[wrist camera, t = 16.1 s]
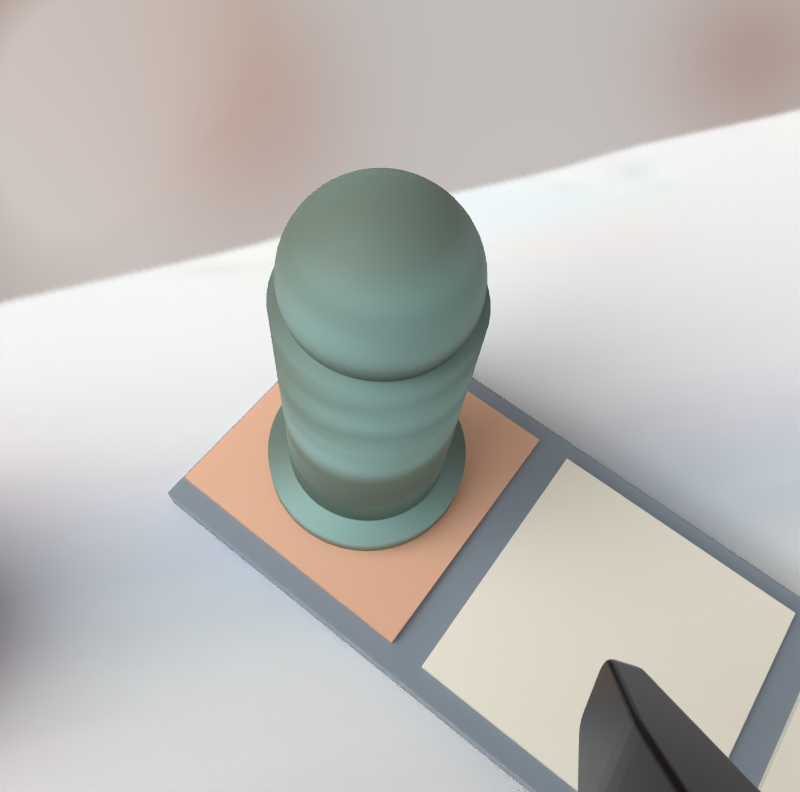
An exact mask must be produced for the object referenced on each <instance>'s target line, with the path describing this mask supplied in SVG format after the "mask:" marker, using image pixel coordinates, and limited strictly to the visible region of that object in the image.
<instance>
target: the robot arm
mask: <svg viewBox="0 0 800 792" xmlns="http://www.w3.org/2000/svg"><path fill="white" fill-rule="evenodd" d="M578 792H761V791H760V790H759V789H758V788H757V787H756V786H755V785H754V784H753V783H752V782H751V781H750V780H749V779H748V778H747V777H746V776H745V775H744V774H743V773H742V771H741V770H740V769H739V768H738V767H737V766H736V765H735V764H734V763H733V762H732V761H731V760H730V759H729V758H728V757H727V756H726V755H725V754H724V753H723V752H722V751H721V750H720V749H719V748H718V747H717V746H716V745H715V744H714V743H713V741H712V740H711V739H710V738H709V737H708V736H707V735H706V734H705V733H704V732H703V731H702V730H701V729H700V728H699V727H698V726H697V725H696V724H695V723H694V722H693V721H692V720H691V719H690V718H689V717H688V716H687V715H686V714H685V712H684V711H683V710H682V709H681V708H680V707H679V706H678V705H677V704H676V703H675V702H674V701H673V700H672V699H671V698H670V697H669V696H668V695H667V694H666V693H665V692H664V691H663V690H662V689H661V688H660V687H659V686H658V685H657V683H656V682H655V681H654V680H653V679H652V678H651V677H650V676H649V675H648V674H647V673H646V672H645V671H644V670H643V669H642V668H640V667H637V666H634V665H631V664H628V663H624V662H621V661H618V660H614V659H609V660H607V661H605V662H604V664H603V665H602V667H601V669H600V671H599V674H598V676H597V679H596V681H595V684H594V686H593V689H592V692H591V694H590V697H589V699H588V702H587V704H586V707H585V709H584V712H583V715H582V719H581V723H580V729H579V754H578Z"/></svg>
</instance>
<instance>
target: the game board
mask: <svg viewBox="0 0 800 792" xmlns="http://www.w3.org/2000/svg"><path fill="white" fill-rule="evenodd" d="M281 405H282V402H281V395H280V389H279V383H278V382H277V383H276V384H275V385H274V386H273V387H272V388H271V389H270V390H269V391H268V392H267V393H266V394H265V395H264V396H263V397H262V398H261V399H260V400H259V401H258V402H257V403H256V404H255V405H254V406H253V407H252V408H251V409H250V410H249V411H248V412H247V413H246V414H245V415H244V416H243V417H242V418H241V419H240V420H239V421H238V422H237V423H236V424H235V425H234V426H233V427H232V428H231V429H230V430H229V431H228V432H227V433H226V434H225V435H224V436H223V437H222V438H221V439H220V441H219V442H218V443H217V444H216V445H215V446H214V447H213V448H212V449H211V450H210V451H209V452H208V453H207V454H206V455H205V456H204V457H203V458H202V459H201V460H200V461H199V462H198V463H197V464H196V465H195V466H194V467H193V468H192V469H191V470H190V471H189V472H188V473H187V474H186V475H185V476H184V477H183V478H182V479H181V480H180V481H179V482H178V483H177V484H176V485H175V486H174V487H173V488H172V489H171V490H170V491H169V492H168V493H169V495H170V497H171V498H172V500H173V502H174V503H175V504H176V505H178V506H179V507H180V508H181V509H183V510H184V511H185V512H186V513H188V514H189V515H190V516H191V517H192V518H194V519H195V520H196V521H197V522H199V523H200V524H201V525H202V526H204V527H205V528H206V529H207V530H208V531H210V532H211V533H212V534H213V535H215V536H216V537H217V538H218V539H220V540H221V541H222V542H223V543H224V544H226V545H227V546H228V547H229V548H231V549H232V550H233V551H234V552H236V553H237V554H238V555H239V556H240V557H242V558H243V559H244V560H245V561H247V562H248V563H249V564H250V565H252V566H253V567H254V568H255V569H256V570H258V571H259V572H260V573H261V574H263V575H264V576H265V577H266V578H268V579H269V580H270V581H271V582H272V583H274V584H275V585H276V586H277V587H279V588H280V589H281V590H282V591H284V592H285V593H286V594H287V595H288V596H290V597H291V598H292V599H293V600H295V601H296V602H297V603H298V604H300V605H301V606H302V607H303V608H304V609H306V610H307V611H308V612H309V613H311V614H312V615H313V616H314V617H316V618H317V619H318V620H319V621H320V622H322V623H323V624H324V625H325V626H327V627H328V628H329V629H330V630H332V631H333V632H334V633H335V634H336V635H338V636H339V637H340V638H341V639H343V640H344V641H345V642H346V643H348V644H349V645H350V646H351V647H352V648H354V649H355V650H356V651H357V652H359V653H360V654H361V655H362V656H364V657H365V658H366V659H367V660H368V661H370V662H371V663H372V664H373V665H375V666H376V667H377V668H378V669H380V670H381V671H382V672H383V673H384V674H386V675H387V676H388V677H389V678H391V679H392V680H393V681H394V682H396V683H397V684H398V685H399V686H400V687H402V688H403V689H404V690H405V691H407V692H408V693H409V694H410V695H412V696H413V697H414V698H415V699H416V700H418V701H419V702H420V703H421V704H423V705H424V706H425V707H426V708H428V709H429V710H430V711H431V712H432V713H434V714H435V715H436V716H437V717H439V718H440V719H441V720H442V721H444V722H445V723H446V724H447V725H448V726H450V727H451V728H452V729H453V730H455V731H456V732H457V733H458V734H460V735H461V736H462V737H463V738H464V739H466V740H467V741H468V742H469V743H471V744H472V745H473V746H474V747H476V748H477V749H478V750H479V751H480V752H482V753H483V754H484V755H485V756H487V757H488V758H489V759H490V760H492V761H493V762H494V763H495V764H496V765H498V766H499V767H500V768H501V769H503V770H504V771H505V772H506V773H508V774H509V775H510V776H511V777H513V778H514V779H515V780H516V781H517V782H519V783H520V784H521V785H522V786H524V787H525V788H526V789H527V790H529V791H530V792H578V754H579V729H580V723H581V719H582V715H583V712H584V709H585V707H586V704H587V702H588V699H589V697H590V694H591V692H592V689H593V686H594V684H595V681H596V679H597V676H598V674H599V671H600V669H601V667H602V665H603V664H604V662H605V661H607V660H609V659H614V660H618V661H621V662H624V663H628V664H631V665H634V666H637V667H640V668H642V669H643V670H644V671H645V672H646V673H647V674H648V675H649V676H650V677H651V678H652V679H653V680H654V681H655V682H656V683H657V685H658V686H659V687H660V688H661V689H662V690H663V691H664V692H665V693H666V694H667V695H668V696H669V697H670V698H671V699H672V700H673V701H674V702H675V703H676V704H677V705H678V706H679V707H680V708H681V709H682V710H683V711H684V712H685V714H686V715H687V716H688V717H689V718H690V719H691V720H692V721H693V722H694V723H695V724H696V725H697V726H698V727H699V728H700V729H701V730H702V731H703V732H704V733H705V734H706V735H707V736H708V737H709V738H710V739H711V740H712V741H713V743H714V744H715V745H716V746H717V747H718V748H719V749H720V750H721V751H722V752H723V753H724V754H725V755H726V756H727V757H728V758H729V759H730V760H731V761H732V762H733V763H734V764H735V765H736V766H737V767H738V768H739V769H740V770H741V771H742V773H743V774H744V775H745V776H746V777H747V778H748V779H749V780H750V781H751V782H752V783H753V784H754V785H755V786H756V787H757V788H758V789H759V790H760V791H761V792H800V597H799V596H797V595H796V594H794V593H793V592H791V591H790V590H788V589H787V588H785V587H784V586H782V585H781V584H779V583H778V582H776V581H775V580H773V579H772V578H770V577H769V576H767V575H766V574H764V573H763V572H761V571H760V570H758V569H757V568H755V567H754V566H752V565H751V564H749V563H748V562H746V561H745V560H743V559H742V558H740V557H739V556H737V555H736V554H734V553H733V552H731V551H730V550H728V549H727V548H725V547H724V546H722V545H721V544H719V543H718V542H717V541H715V540H714V539H712V538H711V537H709V536H708V535H706V534H705V533H703V532H702V531H700V530H699V529H697V528H696V527H694V526H693V525H691V524H690V523H688V522H687V521H685V520H684V519H682V518H681V517H679V516H678V515H676V514H675V513H673V512H672V511H670V510H669V509H667V508H666V507H664V506H663V505H661V504H660V503H658V502H657V501H655V500H654V499H652V498H651V497H649V496H648V495H646V494H645V493H643V492H642V491H640V490H639V489H638V488H636V487H635V486H633V485H632V484H630V483H629V482H627V481H626V480H624V479H623V478H621V477H620V476H618V475H617V474H615V473H614V472H612V471H611V470H609V469H608V468H606V467H605V466H603V465H602V464H600V463H599V462H597V461H596V460H594V459H593V458H591V457H590V456H588V455H587V454H585V453H584V452H582V451H581V450H579V449H578V448H576V447H575V446H573V445H572V444H570V443H569V442H567V441H566V440H564V439H563V438H561V437H560V436H559V435H557V434H556V433H554V432H553V431H551V430H550V429H548V428H547V427H545V426H544V425H542V424H541V423H539V422H538V421H536V420H535V419H533V418H532V417H530V416H529V415H527V414H526V413H524V412H523V411H521V410H520V409H518V408H517V407H515V406H514V405H512V404H511V403H509V402H508V401H506V400H505V399H503V398H502V397H500V396H499V395H497V394H496V393H494V392H493V391H491V390H490V389H488V388H487V387H485V386H484V385H482V384H481V383H480V382H478V381H477V380H475V379H474V378H471V381H470V384H469V387H468V390H467V393H466V396H465V399H464V403H463V406H462V409H461V412H460V415H459V418H458V419H459V421H460V423H461V426H462V430H463V433H464V438H465V446H466V460H465V467H464V472H463V476H462V479H461V482H460V485H459V487H458V490H457V492H456V495H455V497H454V499H453V501H452V503H451V505H450V506H449V508H448V509H447V511H446V513H445V514H444V515H443V516H442V517H441V519H440V520H439V521H438V522H437V523H436V524H435V525H434V526H433V527H431V528H430V529H429V530H428V531H427V532H425V533H424V534H422V535H421V536H419V537H418V538H416V539H414V540H412V541H410V542H408V543H406V544H403V545H400V546H397V547H394V548H389V549H384V550H378V551H357V550H349V549H344V548H340V547H337V546H334V545H331V544H328V543H326V542H324V541H322V540H320V539H318V538H316V537H314V536H313V535H311V534H310V533H308V532H307V531H305V530H304V529H303V528H302V527H301V526H300V525H298V524H297V523H296V522H295V521H294V520H293V518H292V517H291V516H290V515H289V514H288V513H287V511H286V510H285V508H284V506H283V505H282V503H281V502H280V500H279V497H278V495H277V493H276V491H275V487H274V484H273V481H272V477H271V472H270V467H269V460H268V442H269V435H270V430H271V427H272V424H273V421H274V419H275V416H276V414H277V412H278V410H279V408H280V407H281Z"/></svg>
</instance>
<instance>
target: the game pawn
mask: <svg viewBox="0 0 800 792" xmlns="http://www.w3.org/2000/svg"><path fill="white" fill-rule="evenodd" d="M267 312H268V318H269V325H270V331H271V338H272V344H273V351H274V357H275V363H276V370H277V376H278V383H279V389H280V395H281V402H282V405H281V407H280V408H279V410H278V412H277V414H276V416H275V419H274V421H273V424H272V427H271V430H270V435H269V442H268V460H269V467H270V472H271V477H272V481H273V484H274V487H275V491H276V493H277V495H278V497H279V500H280V502H281V503H282V505H283V506H284V508H285V510H286V511H287V513H288V514H289V515H290V516H291V517H292V518H293V520H294V521H295V522H296V523H297V524H298V525H300V526H301V527H302V528H303V529H304V530H305V531H307V532H308V533H310V534H311V535H313V536H314V537H316V538H318V539H320V540H322V541H324V542H326V543H328V544H331V545H334V546H337V547H340V548H344V549H349V550H357V551H378V550H384V549H389V548H394V547H397V546H400V545H403V544H406V543H408V542H410V541H412V540H414V539H416V538H418V537H419V536H421V535H422V534H424V533H425V532H427V531H428V530H429V529H430V528H431V527H433V526H434V525H435V524H436V523H437V522H438V521H439V520H440V519H441V517H442V516H443V515H444V514H445V513H446V511H447V509H448V508H449V506H450V505H451V503H452V501H453V499H454V497H455V495H456V492H457V490H458V487H459V485H460V482H461V479H462V476H463V472H464V467H465V460H466V446H465V438H464V433H463V430H462V426H461V423H460V421H459V419H458V418H459V415H460V412H461V409H462V406H463V403H464V399H465V396H466V393H467V390H468V387H469V384H470V381H471V378H472V375H473V371H474V368H475V365H476V362H477V359H478V356H479V353H480V350H481V347H482V343H483V340H484V337H485V334H486V331H487V328H488V325H489V319H490V296H489V290H488V286H487V263H486V257H485V252H484V248H483V244H482V241H481V238H480V235H479V233H478V231H477V230H476V228H475V226H474V224H473V222H472V220H471V218H470V217H469V215H468V214H467V212H466V211H465V210H464V208H463V207H462V206H461V205H460V204H459V203H458V202H457V201H456V200H455V198H454V197H453V196H451V195H450V194H449V193H448V192H447V191H446V190H444V189H443V188H441V187H440V186H438V185H437V184H435V183H433V182H431V181H430V180H428V179H426V178H424V177H421V176H419V175H417V174H414V173H410V172H407V171H403V170H397V169H390V168H371V169H363V170H358V171H354V172H351V173H347V174H345V175H342V176H339V177H337V178H335V179H332V180H330V181H329V182H327V183H326V184H324V185H322V186H321V187H320V188H318V189H317V190H316V191H314V192H313V193H312V194H311V195H309V196H308V197H307V198H306V199H305V200H304V201H303V202H302V203H301V205H300V206H299V207H298V209H297V210H296V211H295V213H294V214H293V215H292V217H291V218H290V220H289V222H288V223H287V225H286V227H285V229H284V232H283V234H282V236H281V239H280V242H279V245H278V249H277V254H276V259H275V265H274V268H273V270H272V273H271V276H270V279H269V283H268V289H267Z"/></svg>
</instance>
